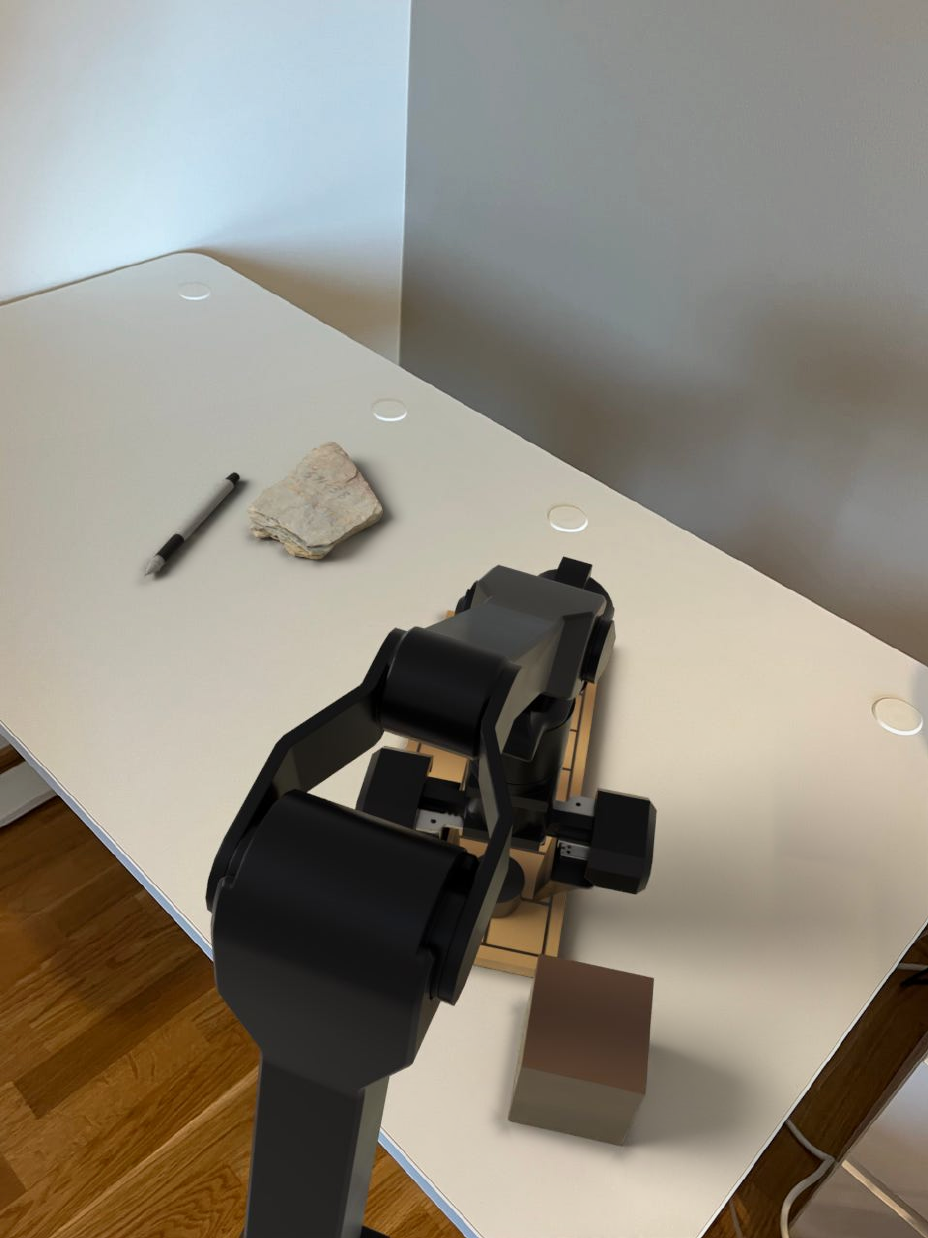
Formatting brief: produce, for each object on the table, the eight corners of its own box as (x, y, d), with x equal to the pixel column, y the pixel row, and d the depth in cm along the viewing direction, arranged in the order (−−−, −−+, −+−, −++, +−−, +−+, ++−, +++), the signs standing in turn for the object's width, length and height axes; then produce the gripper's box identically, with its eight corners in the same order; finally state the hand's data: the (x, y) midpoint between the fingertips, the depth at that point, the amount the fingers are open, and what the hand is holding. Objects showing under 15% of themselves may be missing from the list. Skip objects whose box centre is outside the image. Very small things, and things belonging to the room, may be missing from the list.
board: (552, 982, 72) (555, 973, 71) (350, 938, 73) (350, 929, 72) (601, 648, 94) (604, 637, 93) (446, 619, 96) (447, 609, 95)
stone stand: (621, 1147, 64) (645, 1094, 59) (507, 1120, 65) (520, 1066, 59) (631, 1035, 69) (654, 977, 64) (525, 1012, 70) (538, 952, 64)
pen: (242, 482, 108) (241, 472, 107) (151, 583, 96) (149, 573, 95) (230, 479, 108) (229, 468, 107) (138, 579, 97) (136, 568, 96)
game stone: (517, 923, 73) (520, 908, 72) (460, 911, 74) (462, 896, 72) (526, 874, 76) (529, 858, 75) (471, 862, 76) (473, 847, 75)
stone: (327, 456, 112) (326, 436, 110) (411, 493, 108) (412, 472, 106) (233, 529, 102) (231, 508, 101) (322, 572, 99) (321, 551, 97)
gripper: (681, 677, 68) (637, 818, 79) (396, 624, 70) (392, 769, 81) (671, 819, 60) (624, 955, 71) (350, 755, 62) (352, 897, 73)
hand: (495, 886), depth 74 cm, fingers open, 5 cm apart
